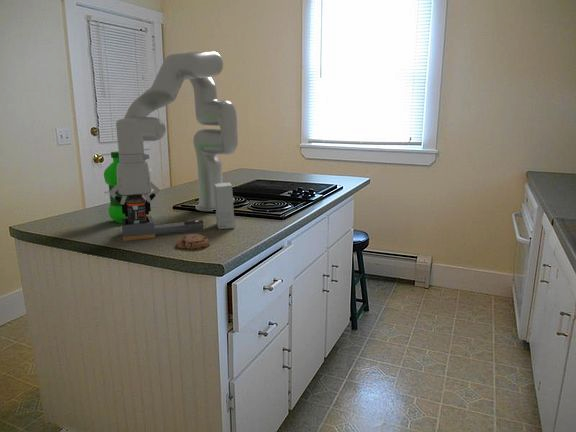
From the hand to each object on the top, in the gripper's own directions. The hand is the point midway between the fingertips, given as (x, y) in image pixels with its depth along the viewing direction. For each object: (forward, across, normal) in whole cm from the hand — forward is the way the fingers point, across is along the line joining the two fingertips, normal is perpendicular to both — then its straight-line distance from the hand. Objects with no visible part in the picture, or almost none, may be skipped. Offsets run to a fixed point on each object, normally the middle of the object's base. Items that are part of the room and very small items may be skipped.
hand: (136, 214), depth 148 cm
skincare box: (+7, -29, -1) cm, 30 cm away
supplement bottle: (+4, 0, 0) cm, 4 cm away
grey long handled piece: (+7, -8, 0) cm, 11 cm away
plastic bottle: (+7, +4, -21) cm, 23 cm away
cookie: (+8, -15, +17) cm, 24 cm away
